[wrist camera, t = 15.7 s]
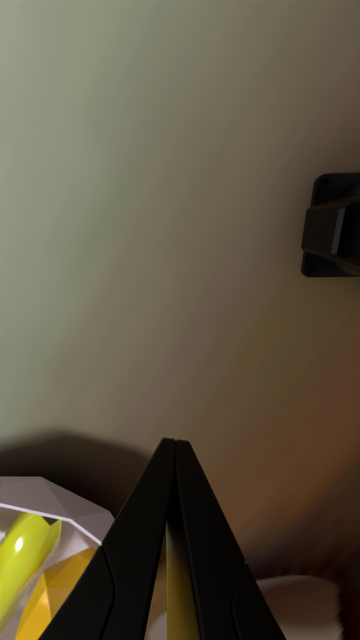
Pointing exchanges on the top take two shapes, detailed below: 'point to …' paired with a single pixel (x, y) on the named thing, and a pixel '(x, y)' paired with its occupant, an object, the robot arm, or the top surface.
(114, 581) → the robot arm
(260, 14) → the top surface
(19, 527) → the fruit bowl
